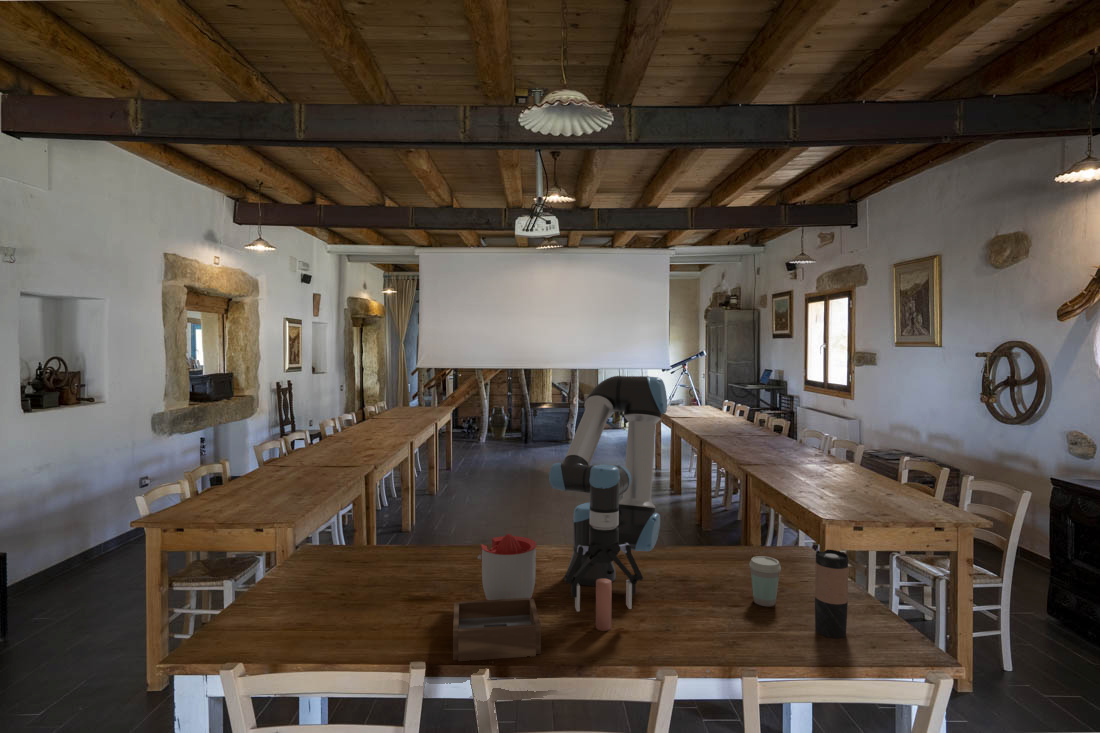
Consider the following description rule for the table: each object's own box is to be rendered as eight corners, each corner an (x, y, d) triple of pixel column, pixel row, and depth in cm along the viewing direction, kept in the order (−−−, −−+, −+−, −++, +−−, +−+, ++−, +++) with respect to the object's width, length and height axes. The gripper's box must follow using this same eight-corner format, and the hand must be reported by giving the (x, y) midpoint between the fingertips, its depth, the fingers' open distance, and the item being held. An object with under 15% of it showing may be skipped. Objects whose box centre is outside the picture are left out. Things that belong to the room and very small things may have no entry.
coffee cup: (783, 610, 166) (783, 567, 166) (750, 607, 168) (751, 564, 168) (777, 597, 175) (778, 556, 174) (747, 594, 176) (747, 554, 176)
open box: (454, 628, 154) (454, 601, 154) (533, 624, 157) (533, 597, 157) (453, 661, 138) (453, 631, 138) (541, 655, 141) (541, 626, 141)
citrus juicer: (494, 588, 181) (494, 522, 180) (545, 598, 173) (546, 529, 173) (464, 608, 167) (464, 536, 166) (519, 620, 159) (519, 545, 159)
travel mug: (845, 641, 148) (846, 561, 148) (811, 633, 152) (813, 555, 152) (848, 629, 155) (850, 552, 154) (816, 622, 159) (817, 547, 158)
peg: (594, 624, 157) (594, 578, 157) (609, 623, 158) (609, 578, 157) (597, 631, 153) (597, 584, 153) (612, 630, 154) (613, 584, 154)
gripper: (558, 531, 149) (557, 616, 150) (655, 528, 153) (654, 611, 153) (554, 523, 157) (553, 604, 157) (646, 520, 160) (645, 599, 161)
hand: (603, 608), depth 155 cm, fingers open, 13 cm apart
